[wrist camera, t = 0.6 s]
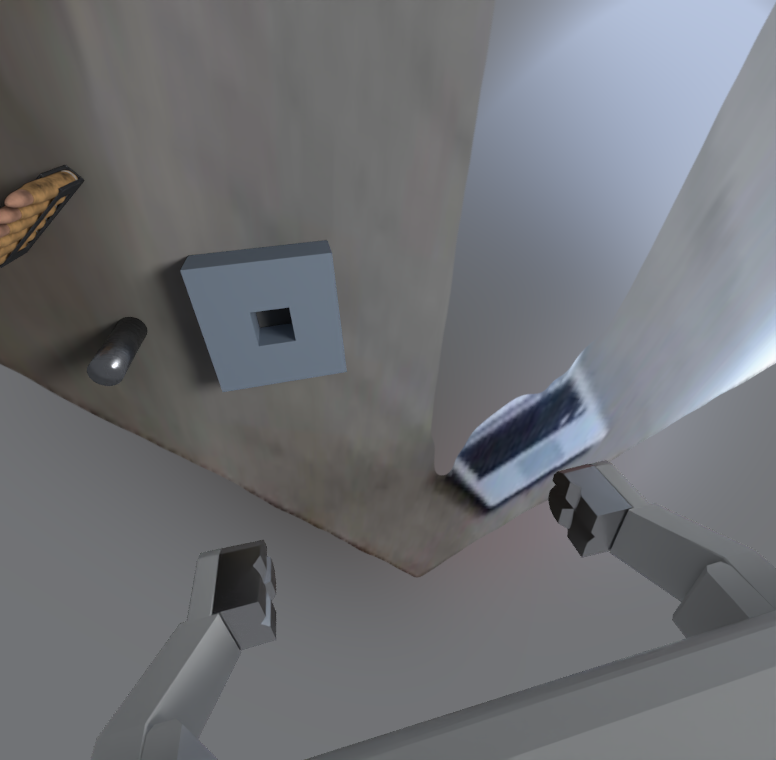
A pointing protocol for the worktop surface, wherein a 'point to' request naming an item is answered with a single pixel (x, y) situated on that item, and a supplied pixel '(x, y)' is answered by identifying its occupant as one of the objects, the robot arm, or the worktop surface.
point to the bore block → (260, 293)
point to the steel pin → (117, 352)
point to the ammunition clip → (34, 210)
